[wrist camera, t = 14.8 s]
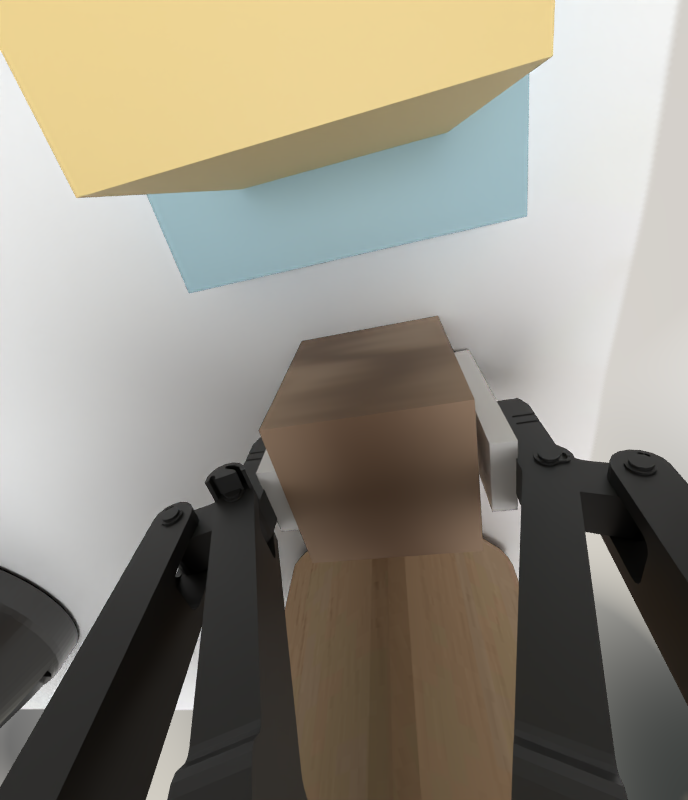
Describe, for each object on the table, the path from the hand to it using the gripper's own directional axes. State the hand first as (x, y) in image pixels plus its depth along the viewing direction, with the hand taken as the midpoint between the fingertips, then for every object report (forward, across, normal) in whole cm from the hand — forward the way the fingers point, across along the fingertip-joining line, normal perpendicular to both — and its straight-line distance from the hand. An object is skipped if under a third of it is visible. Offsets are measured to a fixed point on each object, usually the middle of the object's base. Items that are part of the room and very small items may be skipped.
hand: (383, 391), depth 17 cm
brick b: (0, 0, 0) cm, 0 cm away
